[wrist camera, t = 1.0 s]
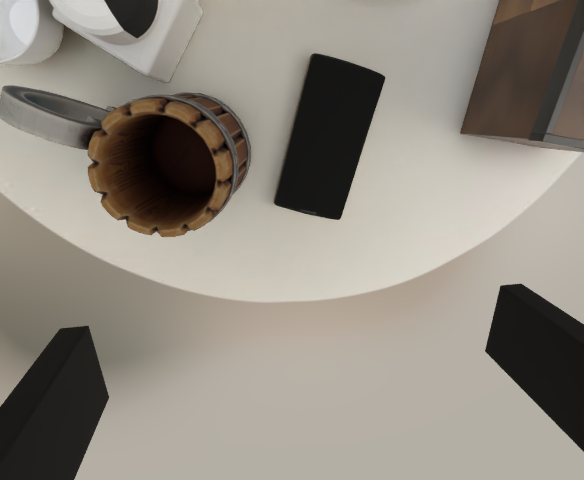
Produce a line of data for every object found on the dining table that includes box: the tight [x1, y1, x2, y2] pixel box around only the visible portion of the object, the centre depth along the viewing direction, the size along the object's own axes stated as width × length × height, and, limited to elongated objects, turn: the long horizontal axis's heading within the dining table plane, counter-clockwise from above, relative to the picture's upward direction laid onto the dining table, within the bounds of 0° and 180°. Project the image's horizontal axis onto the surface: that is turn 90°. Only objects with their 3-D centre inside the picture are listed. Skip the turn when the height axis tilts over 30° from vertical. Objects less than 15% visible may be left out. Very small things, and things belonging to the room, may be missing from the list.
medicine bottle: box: [49, 0, 203, 83], centre depth 25 cm, size 7×7×12 cm
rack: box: [461, 0, 584, 152], centre depth 30 cm, size 16×10×12 cm, turn 171°
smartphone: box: [274, 54, 385, 220], centre depth 35 cm, size 7×1×15 cm
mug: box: [0, 86, 251, 237], centre depth 27 cm, size 16×11×15 cm
